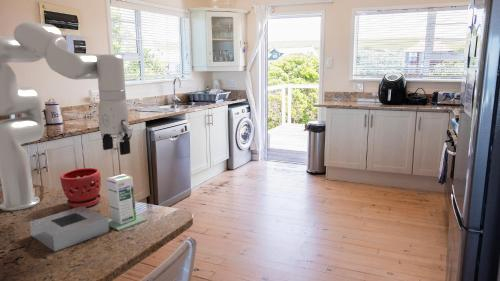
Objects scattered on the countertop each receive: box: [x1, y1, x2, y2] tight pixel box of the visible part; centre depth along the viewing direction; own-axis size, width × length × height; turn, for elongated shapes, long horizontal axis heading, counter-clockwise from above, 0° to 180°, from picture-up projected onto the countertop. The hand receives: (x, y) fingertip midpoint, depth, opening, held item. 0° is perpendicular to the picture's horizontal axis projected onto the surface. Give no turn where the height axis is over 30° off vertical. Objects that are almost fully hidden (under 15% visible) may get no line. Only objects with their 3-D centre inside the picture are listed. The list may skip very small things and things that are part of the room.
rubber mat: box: [108, 214, 148, 232], centre depth 123 cm, size 10×10×1 cm
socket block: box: [29, 206, 110, 252], centre depth 114 cm, size 16×16×4 cm
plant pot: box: [59, 167, 102, 208], centre depth 139 cm, size 13×13×12 cm
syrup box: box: [106, 173, 137, 225], centre depth 121 cm, size 6×6×14 cm
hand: (116, 151), depth 118 cm, fingers open, 9 cm apart
